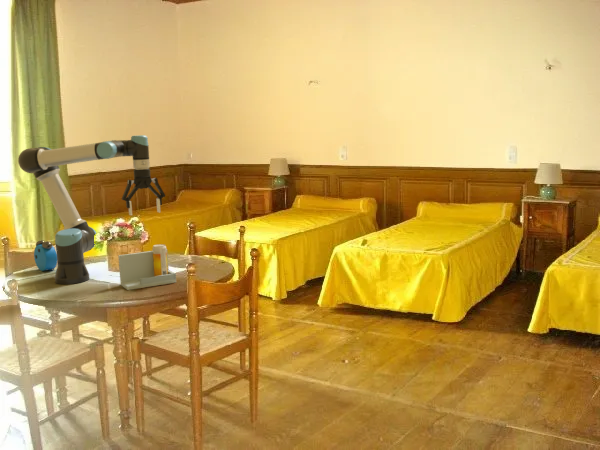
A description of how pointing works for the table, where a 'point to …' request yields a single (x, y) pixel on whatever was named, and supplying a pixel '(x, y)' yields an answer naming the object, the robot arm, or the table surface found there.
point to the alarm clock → (45, 255)
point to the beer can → (160, 260)
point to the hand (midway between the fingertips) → (144, 213)
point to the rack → (141, 271)
